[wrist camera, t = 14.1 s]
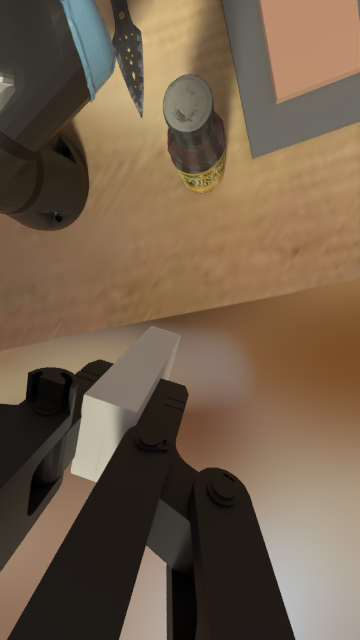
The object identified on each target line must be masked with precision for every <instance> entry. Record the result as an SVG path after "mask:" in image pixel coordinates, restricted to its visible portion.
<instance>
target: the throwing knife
mask: <svg viewBox="0 0 360 640" xmlns="http://www.w3.org/2000/svg"><path fill="white" fill-rule="evenodd" d="M111 2H112V7H113V12H114V18H115V34H114V37H113V40H112V43H113V47H114V51H115V55H116V58H117V61H118V64H119V66H120V69H121V72H122V75H123V77H124V80H125V82H126V85H127V87H128V90H129V92H130V95H131V97H132V99H133V101H134V103H135V105H136V107H137V109H138V111H139V113H140V115H141V117H142V112H143V95H144V92H143V52H142V38H141V31H140V30H139V29H138V28H137V27H136V26H135V25H134V24H132V21H131V19H130V15H129V11H128V7H127V1H126V0H111ZM125 36H127V37H128V39H127V41H126V40H125ZM128 48H129V49H130V52H129V53H128V52H127V50H128ZM130 61H132V62H133V64H132V66H131V65H130ZM133 72H134V73H135V83H134V80H133V78H132V73H133Z"/></svg>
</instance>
